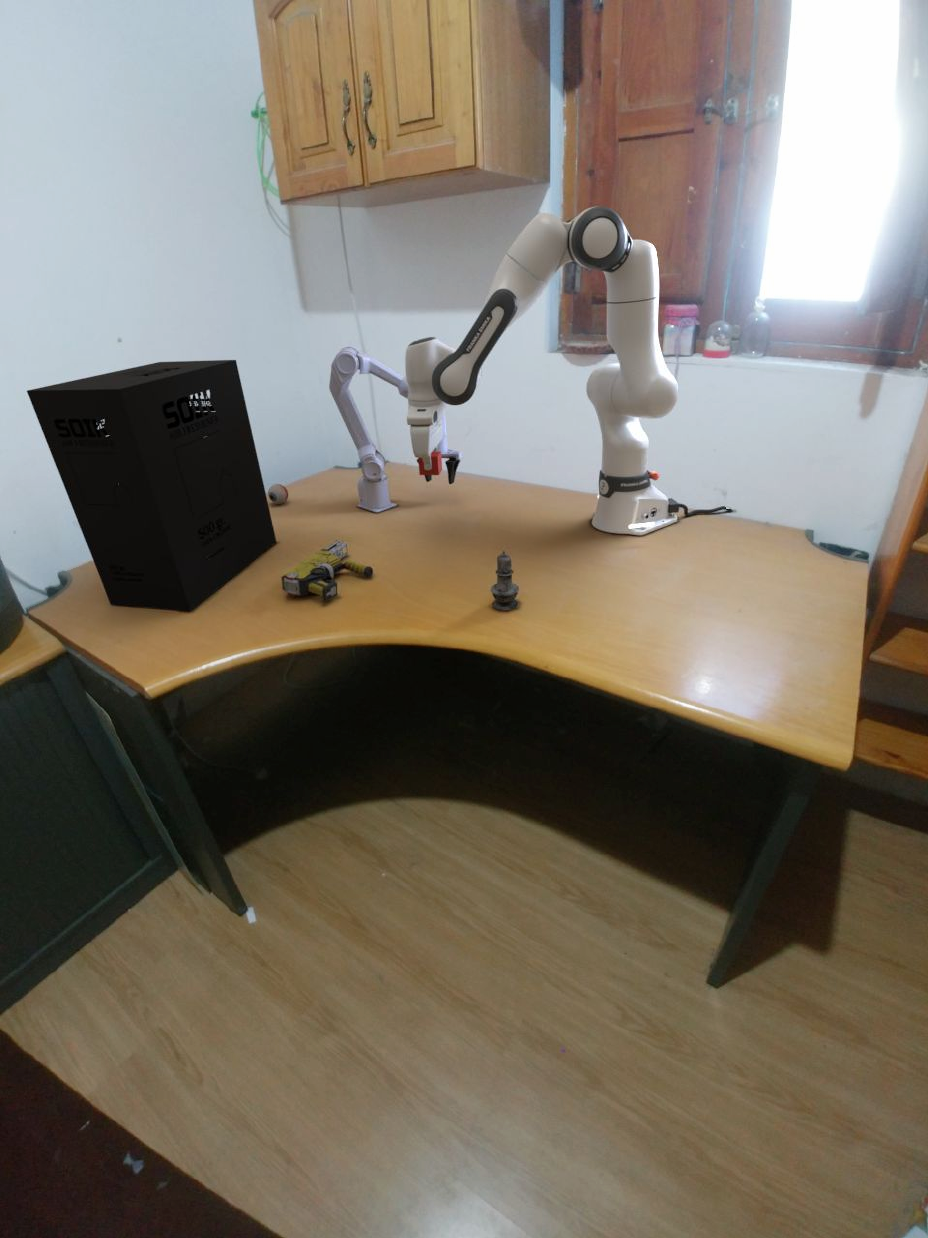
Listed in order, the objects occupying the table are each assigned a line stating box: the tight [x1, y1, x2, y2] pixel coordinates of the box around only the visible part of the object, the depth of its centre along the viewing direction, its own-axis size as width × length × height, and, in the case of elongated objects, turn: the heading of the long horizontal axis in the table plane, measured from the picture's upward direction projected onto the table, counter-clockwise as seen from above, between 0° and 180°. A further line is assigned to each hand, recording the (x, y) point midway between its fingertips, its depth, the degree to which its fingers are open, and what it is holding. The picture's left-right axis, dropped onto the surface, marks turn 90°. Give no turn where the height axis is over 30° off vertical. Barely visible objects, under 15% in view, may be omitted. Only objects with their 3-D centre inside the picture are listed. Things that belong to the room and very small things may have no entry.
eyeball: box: [267, 483, 289, 505], centre depth 187 cm, size 6×6×6 cm
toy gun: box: [281, 539, 374, 603], centre depth 138 cm, size 5×24×15 cm
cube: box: [417, 452, 443, 476], centre depth 155 cm, size 5×5×5 cm
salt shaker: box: [490, 550, 520, 611], centre depth 121 cm, size 6×6×12 cm
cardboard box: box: [26, 359, 277, 612], centre depth 135 cm, size 38×20×45 cm, turn 167°
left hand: (440, 481), depth 179 cm, fingers open, 7 cm apart
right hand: (430, 465), depth 155 cm, fingers closed on cube, 5 cm apart
